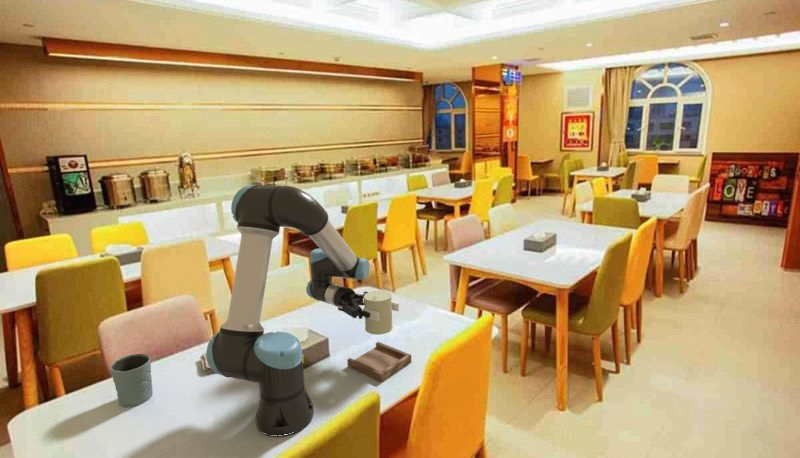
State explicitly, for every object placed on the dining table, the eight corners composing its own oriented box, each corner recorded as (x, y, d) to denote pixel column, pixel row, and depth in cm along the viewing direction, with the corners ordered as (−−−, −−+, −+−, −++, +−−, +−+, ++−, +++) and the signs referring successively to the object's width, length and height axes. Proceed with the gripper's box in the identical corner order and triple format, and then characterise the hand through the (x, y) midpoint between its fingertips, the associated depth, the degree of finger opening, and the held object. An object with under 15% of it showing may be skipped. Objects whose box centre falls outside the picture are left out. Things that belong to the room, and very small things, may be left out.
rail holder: (381, 382, 133) (381, 374, 133) (347, 366, 143) (347, 359, 142) (411, 361, 145) (411, 354, 144) (378, 348, 154) (378, 341, 153)
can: (360, 333, 141) (359, 298, 138) (370, 321, 149) (369, 288, 147) (387, 336, 138) (386, 301, 135) (396, 323, 147) (395, 290, 144)
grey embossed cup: (121, 392, 132) (114, 357, 129) (159, 385, 135) (152, 350, 133) (113, 412, 123) (105, 374, 120) (153, 403, 126) (146, 366, 123)
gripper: (362, 297, 162) (409, 311, 148) (317, 316, 146) (365, 335, 132) (361, 278, 161) (409, 291, 146) (316, 295, 144) (364, 312, 130)
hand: (388, 312), depth 139 cm, fingers closed on can, 9 cm apart
